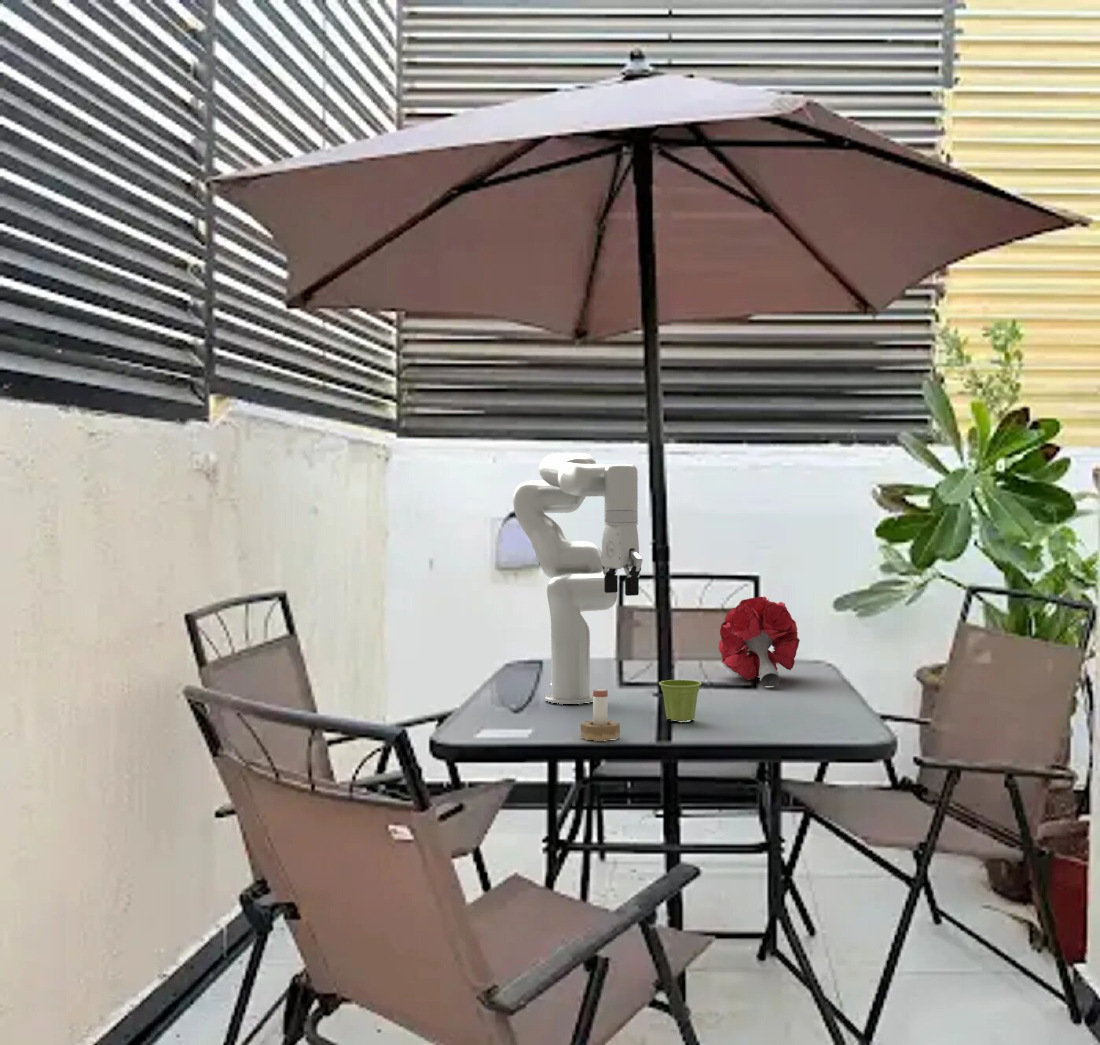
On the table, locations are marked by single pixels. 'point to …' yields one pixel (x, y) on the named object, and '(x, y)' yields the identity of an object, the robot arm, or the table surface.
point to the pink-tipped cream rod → (600, 707)
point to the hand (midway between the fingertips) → (621, 593)
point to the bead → (600, 731)
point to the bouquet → (758, 639)
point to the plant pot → (680, 698)
